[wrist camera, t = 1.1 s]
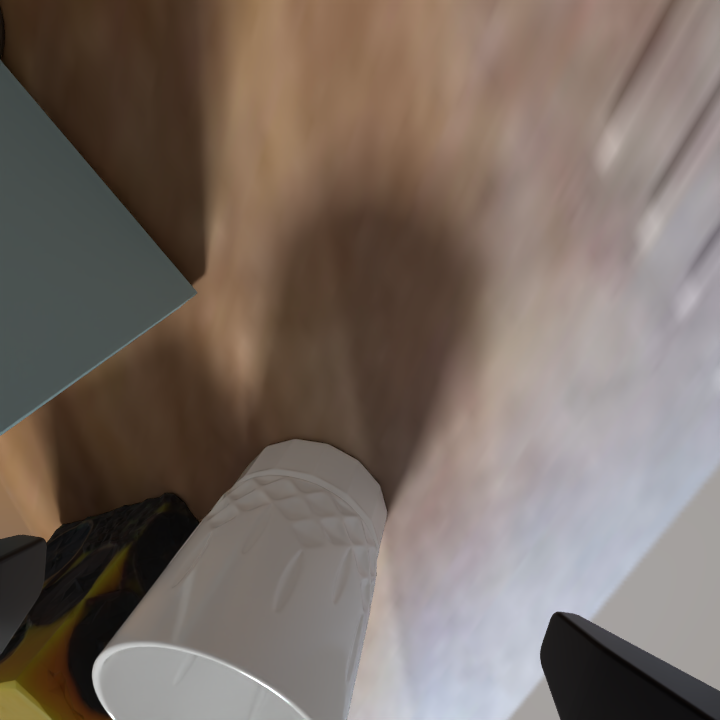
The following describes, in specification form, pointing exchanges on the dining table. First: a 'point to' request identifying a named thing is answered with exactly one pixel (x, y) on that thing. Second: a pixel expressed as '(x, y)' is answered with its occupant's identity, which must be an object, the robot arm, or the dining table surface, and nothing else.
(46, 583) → the holed cube box
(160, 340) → the dining table surface
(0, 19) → the hinge post
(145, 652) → the white cup
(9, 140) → the gate
